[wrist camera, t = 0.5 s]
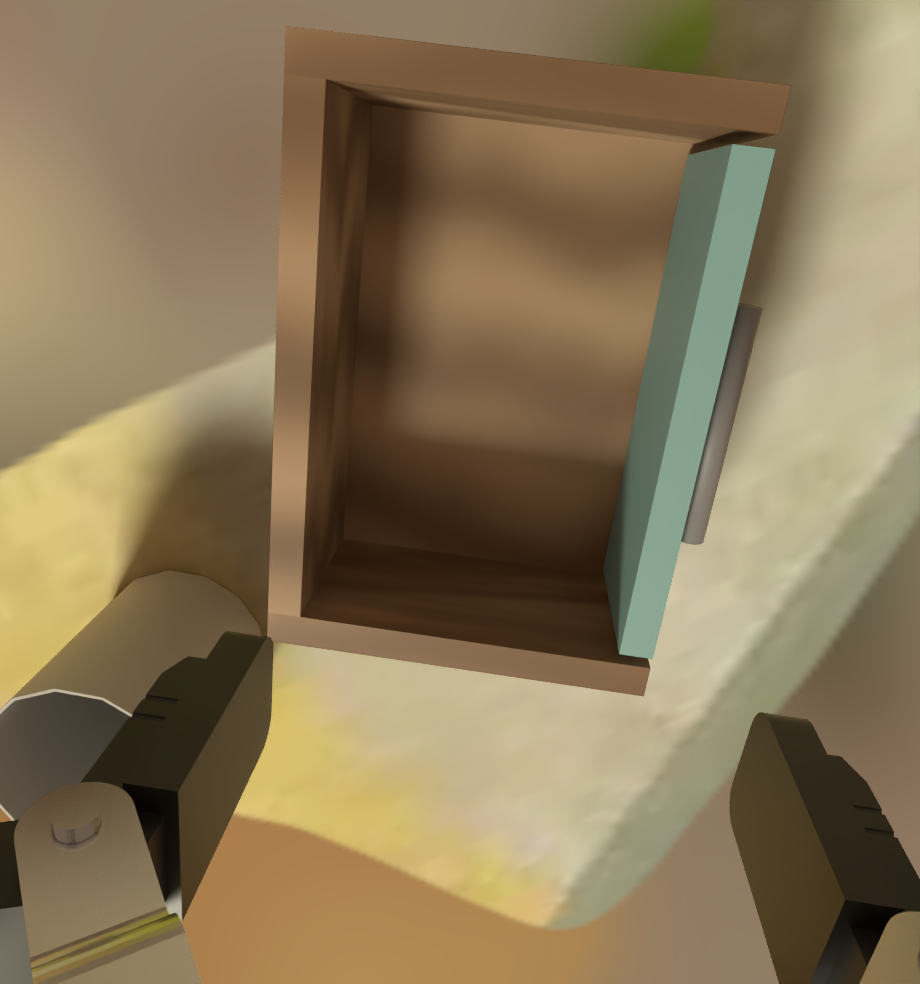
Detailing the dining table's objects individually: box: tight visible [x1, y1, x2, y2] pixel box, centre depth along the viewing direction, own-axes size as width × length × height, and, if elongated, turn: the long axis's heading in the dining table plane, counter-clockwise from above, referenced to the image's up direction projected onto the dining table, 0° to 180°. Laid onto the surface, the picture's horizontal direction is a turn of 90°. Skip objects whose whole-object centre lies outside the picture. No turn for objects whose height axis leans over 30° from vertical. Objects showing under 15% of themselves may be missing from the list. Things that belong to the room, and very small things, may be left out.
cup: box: [0, 570, 262, 821], centre depth 36 cm, size 8×8×10 cm
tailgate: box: [603, 144, 776, 659], centre depth 28 cm, size 17×2×7 cm, turn 173°
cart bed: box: [267, 26, 791, 696], centre depth 29 cm, size 20×14×9 cm
